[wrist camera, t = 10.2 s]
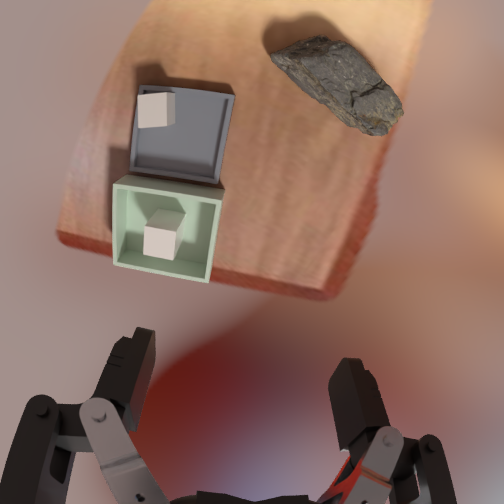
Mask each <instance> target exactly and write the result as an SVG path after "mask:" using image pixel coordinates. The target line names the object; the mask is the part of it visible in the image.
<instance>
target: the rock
mask: <svg viewBox="0 0 504 504" xmlns="http://www.w3.org/2000/svg"><path fill="white" fill-rule="evenodd" d="M271 60H272V62H273V63H275V64H276V65H277V66H278V67H279V68H280V69H281V70H283V71H284V72H285V73H286V74H287V75H288V76H289V77H290V79H291V80H292V81H294V82H295V83H296V84H297V85H298V86H299V87H300V88H301V89H302V90H303V91H304V92H306V93H307V94H308V95H309V96H311V97H312V98H314V99H316V100H317V101H318V102H319V103H321V104H324V105H326V106H327V107H328V108H329V109H330V110H331V111H332V112H333V113H334V114H335V115H336V116H337V117H338V118H339V119H340V120H341V121H342V122H344V123H345V124H346V125H347V126H349V127H353V128H358V129H359V130H360V131H361V132H362V133H365V134H368V135H371V136H383V135H385V134H388V131H389V130H390V128H392V126H393V124H394V123H397V122H398V117H401V116H403V114H404V112H403V110H402V104H401V101H400V99H399V98H398V96H397V95H396V94H395V93H394V91H393V89H392V88H391V87H390V86H389V85H388V84H386V82H385V81H384V80H383V79H382V78H381V77H380V76H379V75H378V74H377V73H376V71H375V70H374V69H372V68H371V66H370V65H369V64H368V63H367V62H366V60H365V59H364V58H363V57H362V56H361V55H360V54H359V53H358V52H357V51H356V50H355V49H354V48H353V47H352V46H350V45H349V44H347V43H346V42H342V41H331V40H330V39H329V38H328V37H326V36H325V35H319V36H316V37H313V38H309V39H307V40H303V41H298V42H296V43H294V44H293V45H292V46H289V47H287V48H285V49H283V50H280V51H276V52H274V53H271Z"/></svg>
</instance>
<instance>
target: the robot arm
mask: <svg viewBox="0 0 504 504" xmlns="http://www.w3.org/2000/svg"><path fill="white" fill-rule="evenodd" d="M155 349H156V348H155V331H154V330H149V329H145V328H141V327H137V328H136V330H135V332H134V335H133V337H132V338H128V337H124V336H123V337H122V338H121V339H120V340H119V341H117V342H116V343H115V344H114V347H113V349H112V351H111V353H110V356H109V358H108V360H107V364H106V365H105V367H104V370H103V372H102V374H101V377H100V379H99V382H98V384H97V387H96V390H95V392H94V394H93V396H92V397H91V398H90V399H89V400H87V401H85V402H84V403H81V404H57V403H56V402H55V400H54V399H52V398H51V397H49V396H47V395H36V396H34V397H32V398H31V399H30V400H29V401H28V403H27V405H26V407H25V410H24V412H23V415H22V417H21V420H20V423H19V425H18V428H17V431H16V434H15V436H14V439H13V442H12V445H11V448H10V451H9V454H8V458H7V461H6V464H5V468H4V471H3V475H2V479H1V483H0V504H65V502H66V496H67V491H68V486H69V481H70V476H71V471H72V467H73V462H74V458H75V454H76V452H94V454H95V456H96V458H97V460H98V462H99V465H100V468H101V471H102V474H103V476H104V478H105V480H106V482H107V484H108V485H109V488H110V490H111V492H112V493H113V495H114V497H115V499H116V501H117V502H118V504H385V502H386V500H387V498H388V496H389V501H390V504H457V501H456V497H455V492H454V488H453V484H452V480H451V476H450V472H449V468H448V465H447V461H446V457H445V454H444V450H443V447H442V444H441V442H440V440H439V439H438V438H437V437H435V436H434V435H430V434H427V435H425V436H423V437H422V438H420V439H419V440H416V439H410V438H405V437H403V436H402V434H401V433H400V431H399V430H397V429H396V428H394V427H391V425H390V423H389V419H388V416H387V413H386V410H385V407H384V404H383V401H382V398H381V394H380V391H379V390H378V385H377V382H376V380H375V378H374V377H373V375H372V374H371V373H370V371H369V370H365V369H364V366H363V363H362V361H361V359H359V358H343V359H342V360H341V362H340V363H339V365H338V367H337V368H336V370H335V371H334V373H333V375H332V376H331V378H330V380H329V385H328V391H329V396H330V401H331V406H332V411H333V416H334V421H335V426H336V431H337V437H338V442H339V447H340V451H349V452H350V456H349V457H348V458H347V460H346V461H345V463H344V465H343V466H342V468H341V470H340V471H339V473H338V475H337V476H336V478H335V479H334V481H333V482H332V484H331V485H330V487H329V488H328V489H327V491H326V492H325V493H324V494H322V495H321V497H320V498H319V499H318V500H317V502H314V501H311V500H309V498H308V495H298V496H297V495H296V496H280V497H276V498H271V499H267V500H262V501H257V502H253V501H249V500H245V499H241V498H238V497H234V496H231V495H228V494H222V493H212V492H203V491H197V494H196V495H189V496H185V497H180V498H177V499H175V500H172V501H170V502H169V501H168V499H167V498H166V496H165V495H164V493H163V492H162V490H161V489H160V487H159V486H158V484H157V482H156V481H155V479H154V478H153V476H152V474H151V473H150V471H149V469H148V468H147V466H146V464H145V463H144V461H143V460H142V458H141V456H140V455H139V454H138V452H137V451H136V449H135V447H134V445H133V443H132V441H131V440H130V438H129V436H128V434H129V430H131V431H135V432H136V431H137V427H138V423H139V419H140V416H141V412H142V408H143V404H144V401H145V397H146V393H147V389H148V386H149V382H150V379H151V375H152V372H153V368H154V364H155V356H156V351H155ZM416 473H417V477H418V481H419V486H420V495H419V491H418V486H417V481H416V476H415V474H416Z"/></svg>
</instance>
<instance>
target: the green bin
mask: <svg viewBox="0 0 504 504" xmlns="http://www.w3.org/2000/svg"><path fill="white" fill-rule="evenodd" d="M224 193H225V190H224V189H219V188H213V187H207V186H201V185H195V184H189V183H183V182H176V181H170V180H163V179H156V178H149V177H142V176H135V175H127V174H126V175H125V176H123V177H122V178H120V179H119V180H117V181H116V182H115V183H113V204H112V238H113V264H114V265H117V266H121V267H126V268H131V269H136V270H141V271H146V272H151V273H156V274H162V275H166V276H171V277H177V278H182V279H188V280H193V281H198V282H204V283H209V279H210V274H211V269H212V264H213V257H214V251H215V245H216V239H217V233H218V227H219V221H220V216H221V210H222V204H223V199H224ZM158 208H159V209H165V210H171V211H176V212H182V213H186V217H185V225H184V233H183V240H182V242H181V244H180V246H179V249H178V251H177V253H176V255H175V258H174V260H168V259H163V258H158V257H153V256H148V255H143V247H144V227H145V225H146V223H147V222H148V221H149V219H150V218H151V217H152V216H153V214H154V213H155V212H156V210H157V209H158Z"/></svg>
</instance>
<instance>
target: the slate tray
mask: <svg viewBox="0 0 504 504" xmlns="http://www.w3.org/2000/svg"><path fill="white" fill-rule="evenodd" d="M164 92H169V93H175V124H172V125H169V126H162V127H149V128H138V99H137V105H136V113H135V120H134V128H133V137H132V146H131V157H130V169H129V171H134V172H141V173H149V174H156V175H163V176H170V177H176V178H183V179H189V180H195V181H201V182H207V183H213V184H218V182H219V178H220V172H221V167H222V161H223V156H224V151H225V145H226V140H227V135H228V130H229V125H230V120H231V115H232V110H233V105H234V100H235V95H231V94H225V93H218V92H211V91H204V90H196V89H187V88H177V87H166V86H152V85H140V86H139V92H138V95H145V94H154V93H164Z"/></svg>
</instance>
